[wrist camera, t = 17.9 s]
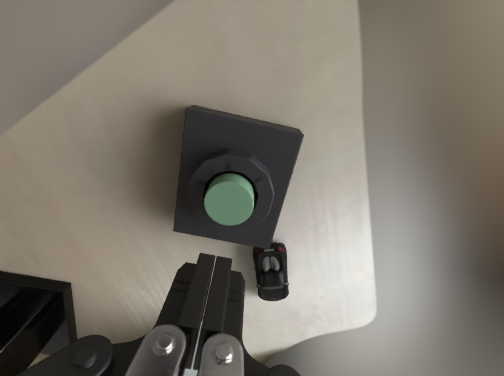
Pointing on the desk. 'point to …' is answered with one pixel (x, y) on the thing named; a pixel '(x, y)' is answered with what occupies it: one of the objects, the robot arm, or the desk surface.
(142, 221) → the desk surface
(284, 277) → the toy car
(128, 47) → the desk surface
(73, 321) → the switch bracket
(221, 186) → the power button
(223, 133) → the switch block
